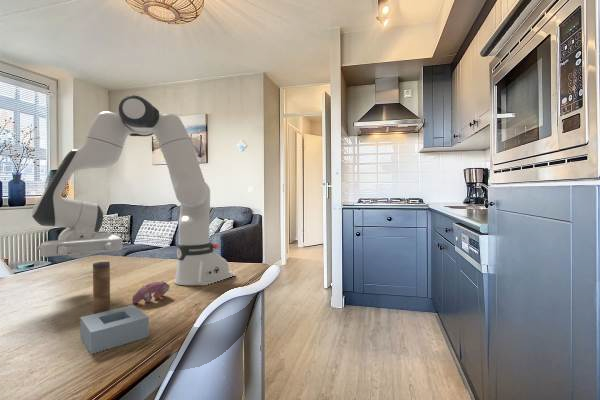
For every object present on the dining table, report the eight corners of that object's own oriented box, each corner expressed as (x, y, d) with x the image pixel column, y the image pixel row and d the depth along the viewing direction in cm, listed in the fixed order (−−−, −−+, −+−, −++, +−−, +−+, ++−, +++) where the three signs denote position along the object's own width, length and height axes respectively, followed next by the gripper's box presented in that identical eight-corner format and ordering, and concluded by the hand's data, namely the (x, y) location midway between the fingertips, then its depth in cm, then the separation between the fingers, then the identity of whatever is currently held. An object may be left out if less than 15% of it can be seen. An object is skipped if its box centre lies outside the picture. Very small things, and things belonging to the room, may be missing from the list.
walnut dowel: (108, 317, 80) (107, 261, 80) (111, 321, 78) (111, 263, 77) (92, 321, 78) (91, 263, 77) (95, 325, 75) (94, 265, 75)
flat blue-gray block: (133, 322, 77) (133, 304, 77) (148, 336, 69) (148, 317, 69) (80, 336, 69) (80, 317, 69) (91, 354, 61) (90, 332, 61)
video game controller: (137, 310, 89) (143, 291, 87) (129, 301, 91) (135, 282, 89) (167, 300, 97) (173, 283, 96) (159, 292, 99) (165, 274, 98)
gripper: (36, 236, 89) (41, 241, 79) (115, 231, 104) (127, 235, 94) (36, 257, 89) (41, 265, 79) (115, 250, 104) (127, 256, 94)
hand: (88, 249), depth 87 cm, fingers open, 8 cm apart
